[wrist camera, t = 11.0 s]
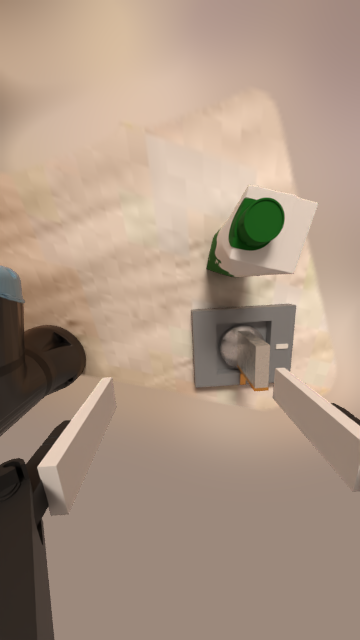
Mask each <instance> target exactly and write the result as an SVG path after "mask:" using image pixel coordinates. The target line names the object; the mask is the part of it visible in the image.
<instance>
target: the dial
mask: <svg viewBox="0 0 360 640" xmlns="http://www.w3.org/2000/svg"><path fill="white" fill-rule="evenodd" d="M219 351H220V354H221V356H222V358H223V359H224V361H225V362H226V363H227V364H229V365H230V366H232V367H236V368H238V369H239V370H240V372H241V373H242V374H243V376H244V377H245V379H246V380H247V382H248V383H249V384H250V386H251V387H252V389H253V390H254V391H265V390H268V381H269V359H270V345H269V344H268V343H266V342H265V341H264V338H263V336H262V335H261V333H260V332H259V331H257V330H256V329H254V328H253V327H251V326H248V325H236V326H233V327H231V328H229V329H228V330H227V331H226V332H225V333H224V334H223V335H222V337H221V339H220V342H219Z"/></svg>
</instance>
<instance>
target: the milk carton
mask: <svg viewBox="0 0 360 640" xmlns="http://www.w3.org/2000/svg"><path fill="white" fill-rule="evenodd" d="M317 206H318V203H316V202H313V201H309V200H305V199H301V198H298V197H297V196H296V195H293V194H290V193H283V192H279V191H275V190H271V189H267V188H263V187H259V186H255V185H251V184H250V185H248V187H247V189H246V190H245V192H244V194H243V195H242V197H241V199H240V201H239V202H238V204H237V206H236V207H235V209H234V211H233V212H232V214H231V216H230V217H229V219H228V220H227V221H226V222H225V224H224V225H223V226H222V227H221V228H220V230H219V231H218V232H217V233H216V234H215V235H214V238H213V241H212V245H211V249H210V253H209V258H208V263H207V268H206V269H208V270H211V271H214V272H217V273H220V274H224V275H228V276H232V277H247V276H260V275H273V274H294V271H295V269H296V266H297V263H298V260H299V257H300V254H301V251H302V249H303V246H304V243H305V240H306V237H307V234H308V231H309V228H310V226H311V223H312V220H313V217H314V214H315V211H316V208H317Z"/></svg>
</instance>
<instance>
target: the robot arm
mask: <svg viewBox="0 0 360 640" xmlns="http://www.w3.org/2000/svg"><path fill="white" fill-rule="evenodd" d="M23 303H25V301H24V299H23V296H22V288H21V280H20V277H19V276H18V274H17V273H16V272H14V271H13V270H12V269H10V268H7V267H4V266H0V436H1V435H2V434H3V433H4V432H6V431H7V430H8V429H9V428H10V427H11V426H12V425H13V424H14V423H16V422H17V421H18V420H19V419H20V418H21V417H22V416H23V415H25V414H26V413H27V412H28V411H29V410H30V409H31V408H32V407H34V406H35V405H36V404H37V403H38V402H39V401H40V400H41V399H43V398H44V397H45V396H46V395H49V394H51V393H53V392H56V391H58V390H60V389H63V388H65V387H67V386H69V385H70V384H71V383H73V382H74V381H75V380H76V379H77V378H78V377H79V376H80V375H81V373H82V372H83V369H84V367H85V353H84V350H83V347H82V345H81V343H80V342H79V341H78V339H77V338H76V337H75V336H74V335H73V334H71V333H70V332H68V331H67V330H65V329H63V328H60V327H57V326H51V325H43V326H38V327H35V328H32V329H29V330H27V331H25V332H24V309H23ZM273 399H274V400H275V401H276V402H277V404H278V405H279V406H280V407H281V408H282V409H283V411H284V412H285V413H286V414H287V415H288V416H289V418H290V419H291V420H292V421H293V422H294V423H295V425H296V426H297V427H298V428H299V429H300V431H301V432H302V433H303V434H304V435H305V436H306V438H307V439H308V440H309V441H310V442H311V443H312V445H313V446H314V447H315V448H316V449H317V450H318V451H319V453H320V454H321V455H322V456H323V457H324V458H325V460H326V461H327V462H328V463H329V464H330V466H331V467H332V468H333V469H334V470H335V471H336V473H337V474H338V475H339V476H340V477H341V478H342V480H343V481H344V482H345V483H346V484H347V485H348V486H349V488H350V489H351V490H352V491H353V492H355V491H360V420H359V419H358V418H356V417H354V415H352V414H351V413H350V412H348V411H347V410H346V409H344V408H342V407H340V406H338V405H336V404H334V403H329V402H328V401H327V400H326V399H324V398H323V397H322V396H320V395H319V394H318V393H317V392H315V391H314V390H313V389H311V388H310V387H309V386H308V385H306V384H305V383H304V382H302V381H301V380H300V379H299V378H297V377H296V376H295V375H293V374H292V373H291V372H289V371H288V370H287V369H286V368H275V377H274V388H273ZM115 409H116V401H115V394H114V387H113V379H112V377H108V378H102V379H101V380H100V382H99V383H98V385H97V386H96V387H95V389H94V390H93V391H92V393H91V394H90V396H89V397H88V398H87V400H86V401H85V402H84V404H83V405H82V406H81V408H80V409H79V410H78V412H77V413H76V415H75V416H74V417H73V419H72V420H70V421H63V422H62V423H61V424H60V425H59V426H57V427H56V428H55V429H54V430H53V431H52V433H51V434H50V435H49V436H48V438H47V439H46V440H45V441H44V443H43V444H42V446H40V448H39V449H38V450H37V451H36V452H35V454H34V455H33V456H32V457H31V459H30V460H29V461H28V463H27V464H26V465H25V462H24V460H23V459H20V458H18V459H12V460H9V461H7V462H4V463H2V464H1V465H0V640H54V632H53V622H52V611H51V601H50V590H49V580H48V570H47V559H46V549H45V538H44V528H43V521H42V517H43V515H44V513H45V511H46V509H47V508H48V507H49V511H50V514H51V516H52V515H65V514H69V512H70V510H71V507H72V505H73V503H74V500H75V499H76V496H77V494H78V492H79V490H80V487H81V485H82V483H83V481H84V478H85V476H86V474H87V472H88V470H89V467H90V465H91V463H92V461H93V458H94V456H95V454H96V451H97V450H98V447H99V445H100V443H101V441H102V438H103V436H104V434H105V431H106V429H107V427H108V425H109V423H110V420H111V418H112V416H113V414H114V411H115Z"/></svg>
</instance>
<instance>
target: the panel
mask: <svg viewBox="0 0 360 640" xmlns="http://www.w3.org/2000/svg"><path fill="white" fill-rule="evenodd" d="M191 313H192V335H193V358H194V380H195V387H212V386H228V385H244V384H249V383H248V382H247V380H246V379H245V377H244V376H243V374H242V373H241V372H240V370H239V369H238V368H236V367H232V366H230V365H229V364H227V363H226V362H225V361H224V359H223V358H222V356H221V354H220V351H219V342H220V339H221V337H222V335H223V334H224V333H225V332H226V331H227V330H228V329H229V328H231V327H233V326H236V325H248V326H251V327H253V328H254V329H256V330H257V331H259V332H260V333H261V335H262V336H263V338H264V341H265V342H266V343H268V344H269V345H270V359H269V381H268V383H274V377H275V368H286V369H287V370H288V371H289V372H290V368H291V357H292V346H293V335H294V324H295V313H296V305H292V304H278V305H262V306H245V307H229V308H213V309H197V310H191Z"/></svg>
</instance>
